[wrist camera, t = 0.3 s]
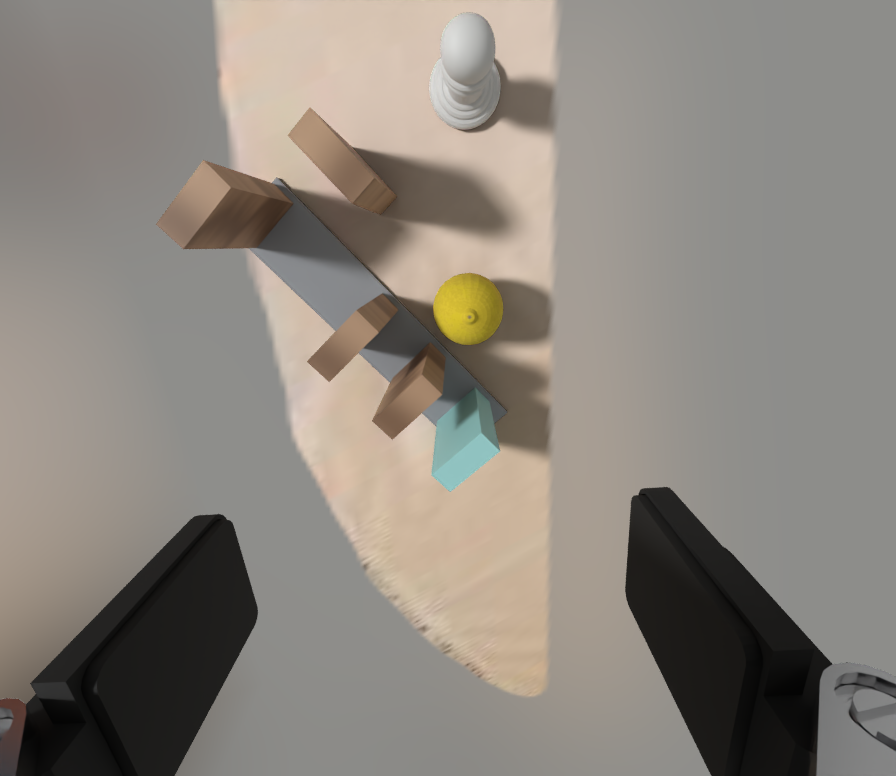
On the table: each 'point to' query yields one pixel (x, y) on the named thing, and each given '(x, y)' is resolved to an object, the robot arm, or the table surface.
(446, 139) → the table surface
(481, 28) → the chess piece
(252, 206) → the domino
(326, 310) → the grey flat board
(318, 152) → the domino
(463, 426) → the domino end
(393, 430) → the domino
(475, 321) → the lemon
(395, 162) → the table surface
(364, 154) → the table surface
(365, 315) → the domino
